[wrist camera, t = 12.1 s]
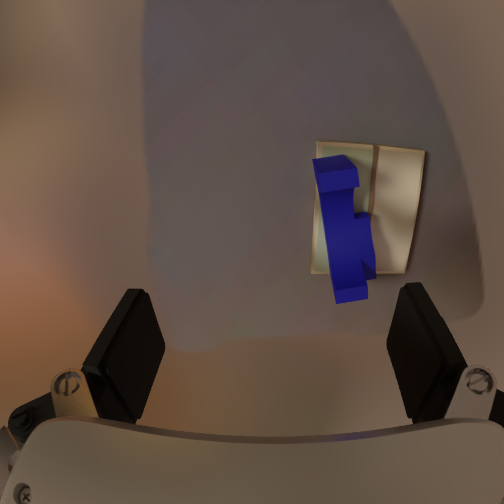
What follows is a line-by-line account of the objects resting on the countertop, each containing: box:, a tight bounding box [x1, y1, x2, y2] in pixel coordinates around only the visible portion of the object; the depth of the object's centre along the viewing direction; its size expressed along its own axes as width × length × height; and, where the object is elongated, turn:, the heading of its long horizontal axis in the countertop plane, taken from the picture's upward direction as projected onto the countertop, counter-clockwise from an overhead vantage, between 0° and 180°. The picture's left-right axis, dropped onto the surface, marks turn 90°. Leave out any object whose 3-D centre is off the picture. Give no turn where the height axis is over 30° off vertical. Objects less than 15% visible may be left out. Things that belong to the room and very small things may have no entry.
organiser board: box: [311, 140, 425, 274], centre depth 30 cm, size 14×11×2 cm
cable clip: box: [312, 154, 376, 304], centre depth 27 cm, size 12×4×6 cm, turn 13°
